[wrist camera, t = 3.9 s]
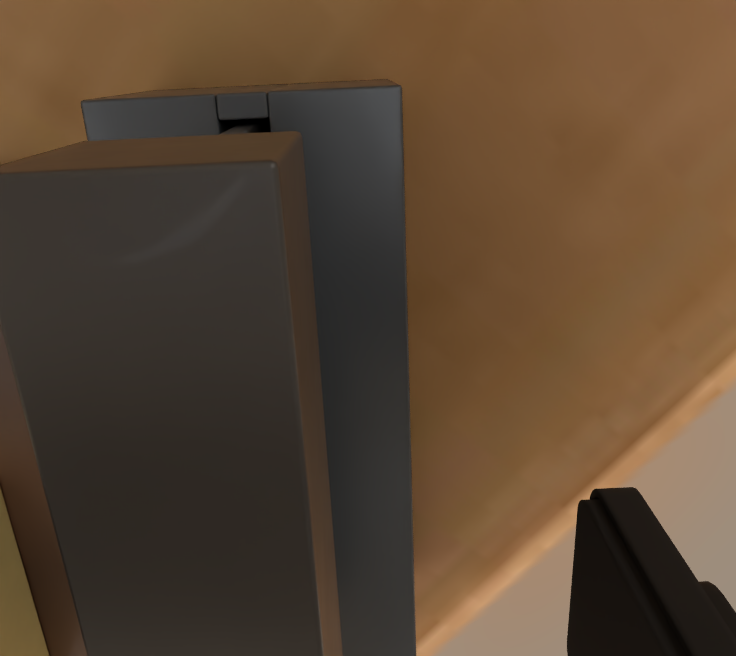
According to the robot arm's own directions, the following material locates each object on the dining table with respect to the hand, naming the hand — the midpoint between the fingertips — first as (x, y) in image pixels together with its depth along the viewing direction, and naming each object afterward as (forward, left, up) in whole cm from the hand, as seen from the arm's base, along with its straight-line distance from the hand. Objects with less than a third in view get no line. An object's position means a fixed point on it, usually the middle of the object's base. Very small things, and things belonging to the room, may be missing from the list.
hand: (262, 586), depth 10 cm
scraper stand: (0, 0, -7) cm, 7 cm away
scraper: (0, 0, -7) cm, 7 cm away
